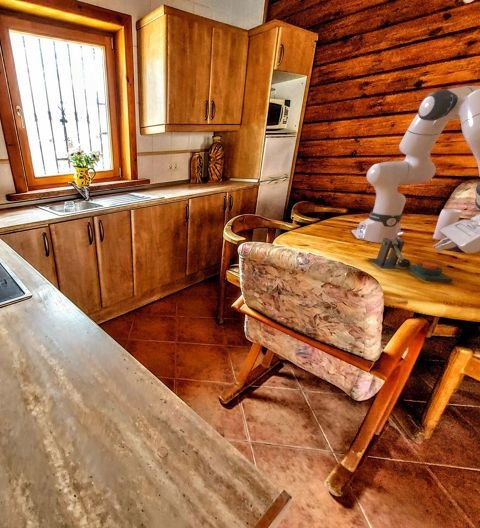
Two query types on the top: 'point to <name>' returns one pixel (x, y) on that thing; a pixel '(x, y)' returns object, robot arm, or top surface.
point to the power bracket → (383, 253)
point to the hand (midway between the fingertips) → (435, 248)
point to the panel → (429, 273)
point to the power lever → (399, 255)
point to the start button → (430, 265)
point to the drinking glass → (446, 221)
